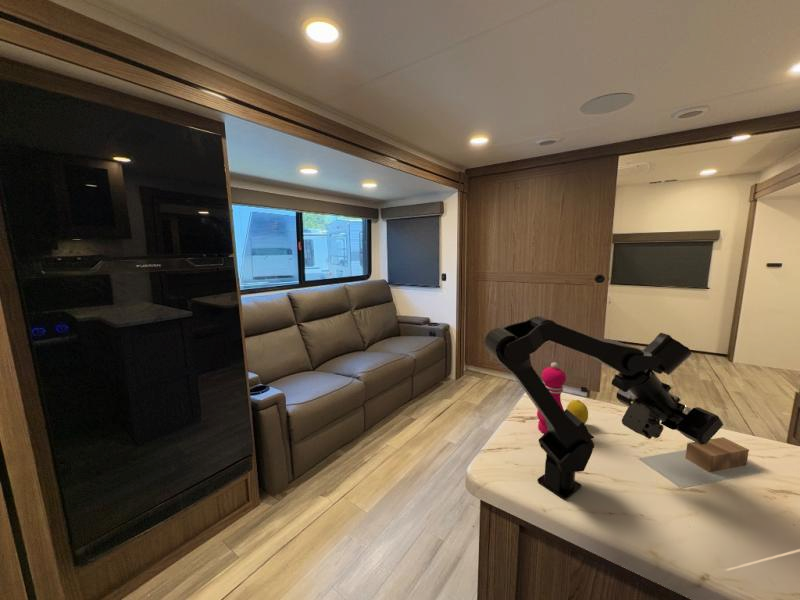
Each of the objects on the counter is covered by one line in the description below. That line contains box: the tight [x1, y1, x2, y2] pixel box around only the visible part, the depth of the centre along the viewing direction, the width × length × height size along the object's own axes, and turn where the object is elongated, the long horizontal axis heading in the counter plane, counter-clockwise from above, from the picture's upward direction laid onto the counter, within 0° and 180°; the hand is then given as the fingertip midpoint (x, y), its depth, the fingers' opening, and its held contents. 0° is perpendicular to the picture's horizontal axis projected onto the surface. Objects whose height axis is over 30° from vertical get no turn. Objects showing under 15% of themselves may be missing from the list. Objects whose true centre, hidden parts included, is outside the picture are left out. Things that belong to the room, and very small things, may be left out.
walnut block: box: [685, 437, 750, 472], centre depth 75 cm, size 4×5×11 cm
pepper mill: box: [536, 361, 567, 435], centre depth 88 cm, size 7×7×20 cm
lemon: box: [566, 399, 589, 425], centre depth 90 cm, size 6×6×8 cm
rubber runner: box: [636, 449, 763, 489], centre depth 74 cm, size 23×10×1 cm, turn 102°
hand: (680, 429), depth 71 cm, fingers closed
